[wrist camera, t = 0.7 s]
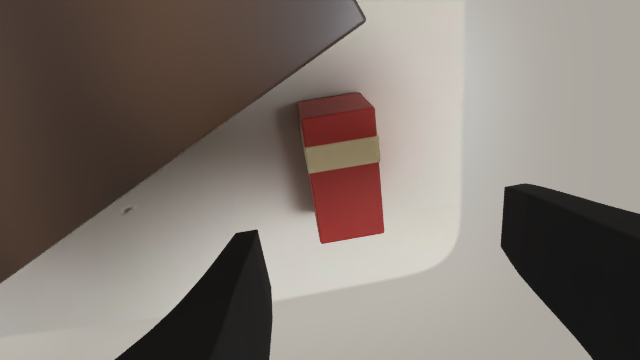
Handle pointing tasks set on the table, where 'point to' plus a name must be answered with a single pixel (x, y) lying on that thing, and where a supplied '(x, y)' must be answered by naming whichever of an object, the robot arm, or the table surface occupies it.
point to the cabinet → (130, 95)
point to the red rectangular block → (343, 165)
